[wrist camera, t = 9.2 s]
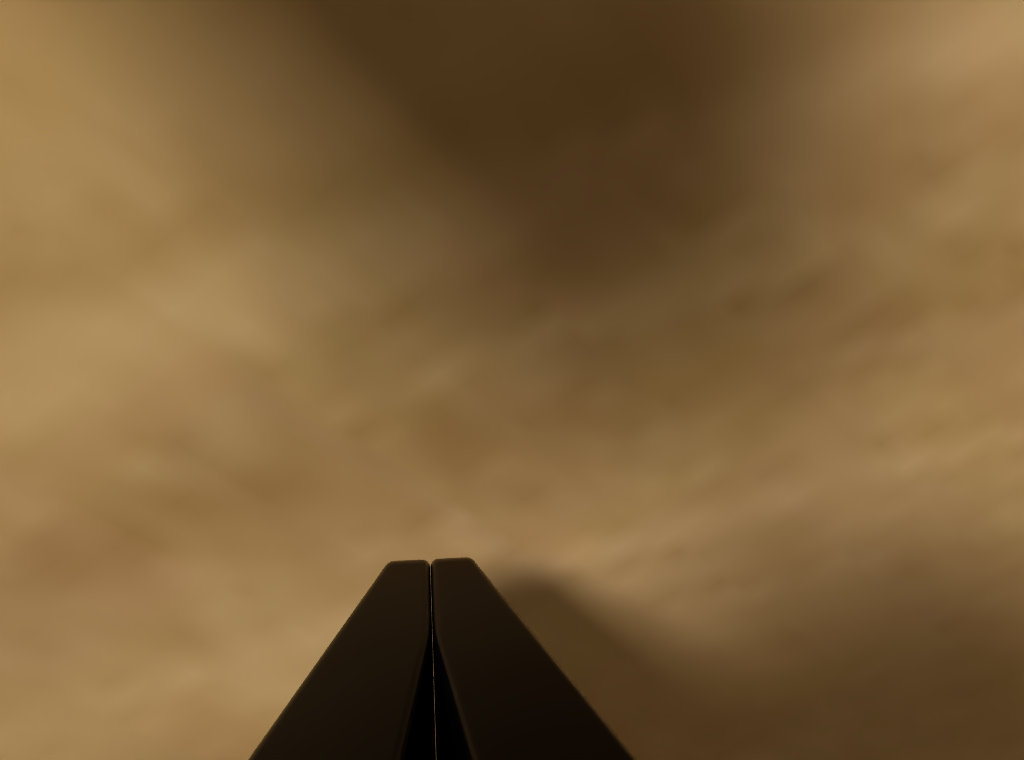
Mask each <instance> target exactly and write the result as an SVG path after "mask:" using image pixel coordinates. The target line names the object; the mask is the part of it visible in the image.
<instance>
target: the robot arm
mask: <svg viewBox="0 0 1024 760" xmlns="http://www.w3.org/2000/svg"><path fill="white" fill-rule="evenodd" d="M431 599H432V612H431ZM432 632H433V644H432ZM433 664H434V677H433ZM434 696H435V711H434ZM435 727H436V744H435ZM436 759H437V760H636V759H635V757H634V756H633V755H632V754H631V752H630V751H629V750H628V749H627V748H626V746H625V745H624V744H623V743H622V741H621V740H620V739H619V738H618V737H617V735H616V734H615V733H614V732H613V730H612V729H611V728H610V727H609V726H608V724H607V723H606V722H605V721H604V719H603V718H602V717H601V716H600V715H599V713H598V712H597V711H596V710H595V708H594V707H593V706H592V705H591V704H590V702H589V701H588V700H587V699H586V697H585V696H584V695H583V694H582V693H581V691H580V690H579V689H578V688H577V686H576V685H575V684H574V683H573V681H572V680H571V679H570V678H569V677H568V675H567V674H566V673H565V672H564V670H563V669H562V668H561V667H560V666H559V664H558V663H557V662H556V661H555V659H554V658H553V657H552V656H551V655H550V653H549V652H548V651H547V650H546V648H545V647H544V646H543V645H542V644H541V642H540V641H539V640H538V639H537V637H536V636H535V635H534V634H533V633H532V631H531V630H530V629H529V628H528V626H527V625H526V624H525V623H524V622H523V620H522V619H521V618H520V617H519V615H518V614H517V613H516V612H515V611H514V609H513V608H512V607H511V606H510V604H509V603H508V602H507V601H506V600H505V598H504V597H503V596H502V595H501V593H500V592H499V591H498V590H497V589H496V587H495V586H494V585H493V584H492V582H491V581H490V580H489V579H488V578H487V576H486V575H485V574H484V573H483V571H482V570H481V569H480V568H479V567H478V565H477V564H476V563H475V562H474V561H473V560H472V559H470V558H467V557H465V558H446V559H435V560H434V561H433V562H432V563H431V581H430V564H429V563H428V562H427V561H426V560H405V561H392V562H390V563H388V564H387V565H386V566H385V568H384V569H383V570H382V572H381V573H380V575H379V576H378V577H377V579H376V580H375V582H374V583H373V584H372V586H371V587H370V589H369V590H368V592H367V593H366V594H365V596H364V597H363V599H362V600H361V601H360V603H359V604H358V606H357V607H356V608H355V610H354V611H353V613H352V614H351V615H350V617H349V618H348V620H347V621H346V623H345V624H344V625H343V627H342V628H341V630H340V631H339V632H338V634H337V635H336V637H335V638H334V639H333V641H332V642H331V644H330V645H329V647H328V648H327V649H326V651H325V652H324V654H323V655H322V656H321V658H320V659H319V661H318V662H317V663H316V665H315V666H314V668H313V669H312V671H311V672H310V673H309V675H308V676H307V678H306V679H305V680H304V682H303V683H302V685H301V686H300V687H299V689H298V690H297V692H296V693H295V695H294V696H293V697H292V699H291V700H290V702H289V703H288V704H287V706H286V707H285V709H284V710H283V711H282V713H281V714H280V716H279V717H278V719H277V720H276V721H275V723H274V724H273V726H272V727H271V728H270V730H269V731H268V733H267V734H266V735H265V737H264V738H263V740H262V741H261V742H260V744H259V745H258V747H257V748H256V750H255V751H254V752H253V754H252V755H251V757H250V758H249V759H248V760H436Z"/></svg>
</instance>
